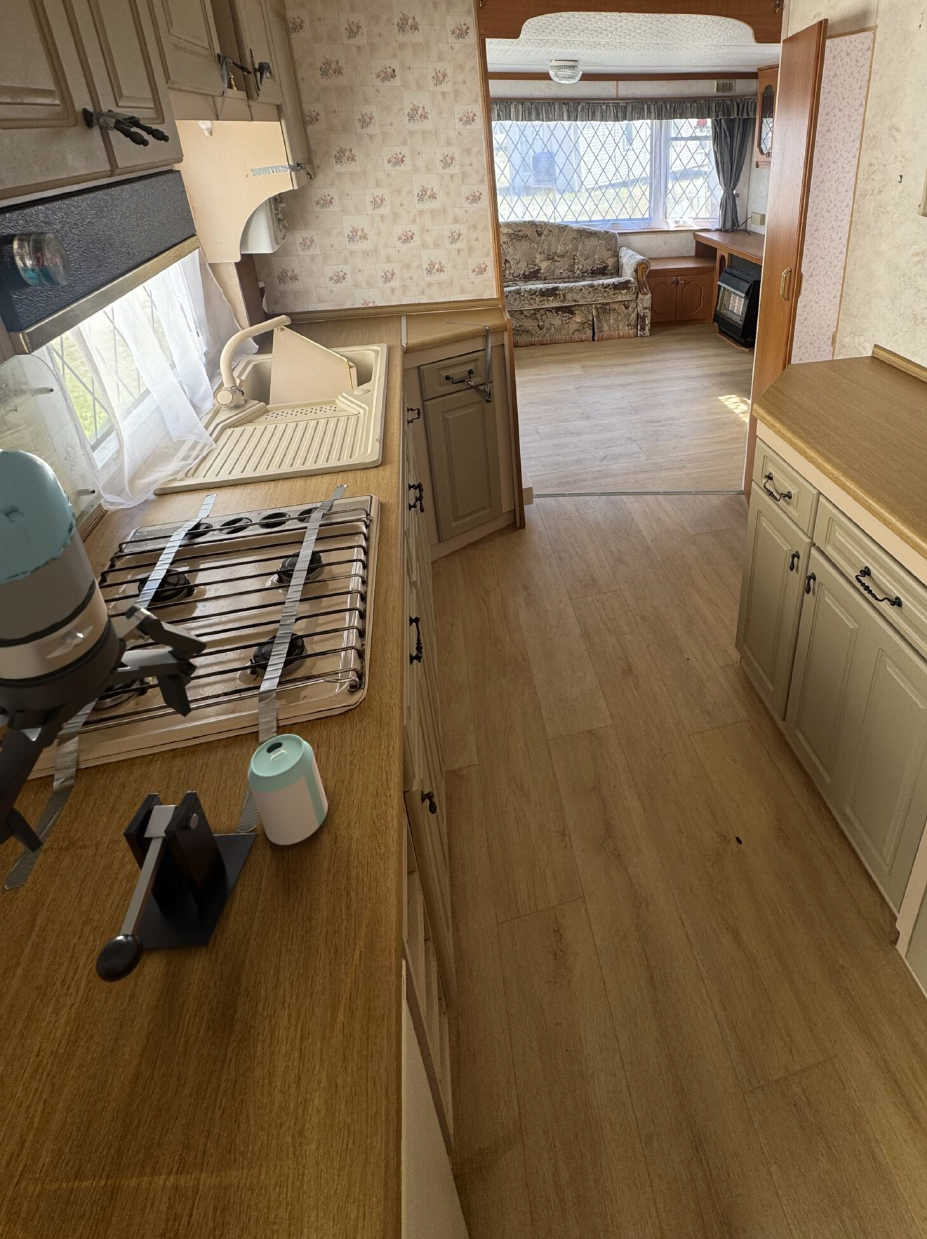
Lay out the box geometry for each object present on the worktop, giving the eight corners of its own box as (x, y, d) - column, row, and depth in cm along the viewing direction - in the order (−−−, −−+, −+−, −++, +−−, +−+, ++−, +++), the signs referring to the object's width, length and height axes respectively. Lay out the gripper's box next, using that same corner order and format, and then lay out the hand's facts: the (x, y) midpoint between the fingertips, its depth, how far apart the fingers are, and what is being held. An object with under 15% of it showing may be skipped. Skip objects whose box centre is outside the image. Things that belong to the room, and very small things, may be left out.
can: (254, 843, 79) (229, 774, 74) (292, 791, 85) (271, 724, 80) (305, 856, 78) (284, 787, 73) (340, 801, 84) (322, 734, 79)
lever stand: (210, 951, 69) (172, 868, 63) (121, 956, 68) (76, 873, 63) (260, 838, 80) (232, 759, 74) (184, 842, 79) (149, 763, 74)
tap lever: (141, 981, 62) (120, 980, 60) (102, 983, 62) (79, 983, 59) (195, 810, 71) (179, 803, 69) (161, 812, 71) (144, 805, 69)
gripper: (-149, 830, 37) (-22, 940, 50) (234, 551, 56) (254, 682, 69) (-232, 758, 38) (-88, 882, 51) (169, 510, 58) (200, 645, 70)
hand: (109, 767), depth 60 cm, fingers open, 13 cm apart
